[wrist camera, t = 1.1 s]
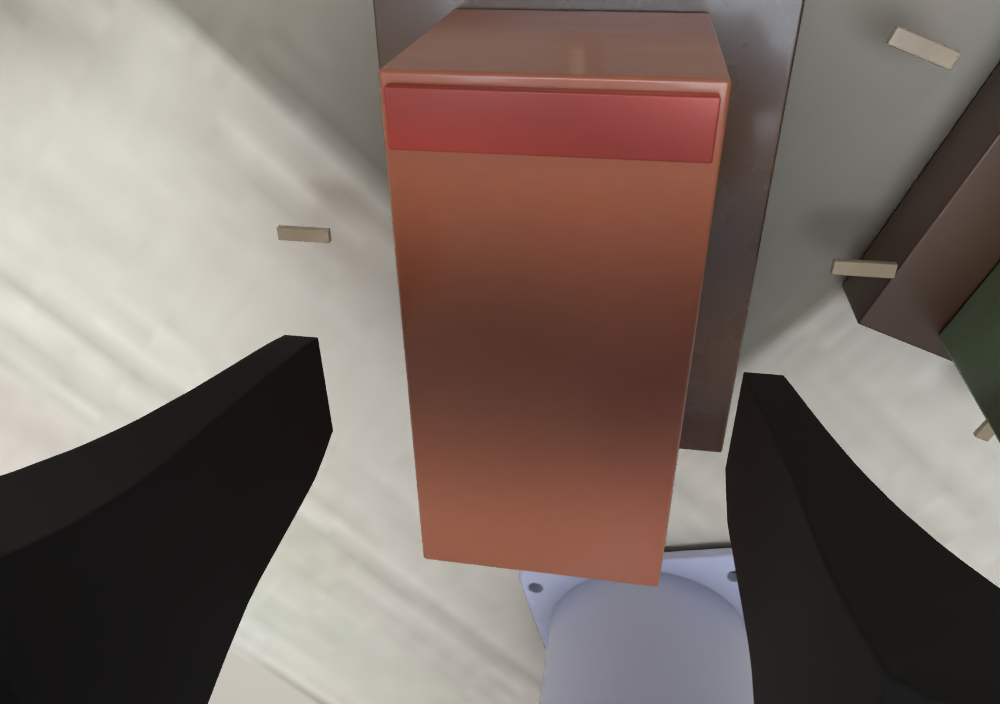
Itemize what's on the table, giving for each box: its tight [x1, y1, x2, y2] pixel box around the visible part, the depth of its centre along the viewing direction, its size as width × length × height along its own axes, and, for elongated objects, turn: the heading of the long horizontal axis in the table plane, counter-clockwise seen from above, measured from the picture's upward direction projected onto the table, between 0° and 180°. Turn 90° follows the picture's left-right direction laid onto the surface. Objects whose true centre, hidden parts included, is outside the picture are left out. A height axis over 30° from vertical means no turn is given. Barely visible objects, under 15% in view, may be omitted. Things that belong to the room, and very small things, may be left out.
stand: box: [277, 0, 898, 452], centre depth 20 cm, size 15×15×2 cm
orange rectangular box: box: [379, 9, 732, 587], centre depth 17 cm, size 11×5×6 cm, turn 1°
